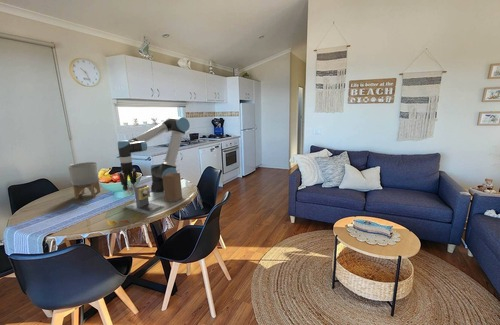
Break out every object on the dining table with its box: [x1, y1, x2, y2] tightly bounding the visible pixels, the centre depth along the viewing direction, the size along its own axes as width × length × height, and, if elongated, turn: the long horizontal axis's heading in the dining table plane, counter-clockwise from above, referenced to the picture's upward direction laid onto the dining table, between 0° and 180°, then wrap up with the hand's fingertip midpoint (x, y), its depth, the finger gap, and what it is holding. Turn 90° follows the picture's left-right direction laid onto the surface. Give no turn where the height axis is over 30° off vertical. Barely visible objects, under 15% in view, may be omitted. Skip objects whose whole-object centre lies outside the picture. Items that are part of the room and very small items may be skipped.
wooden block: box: [162, 172, 183, 202], centre depth 185 cm, size 10×10×20 cm
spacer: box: [138, 185, 151, 200], centre depth 169 cm, size 2×8×8 cm, turn 150°
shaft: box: [122, 185, 149, 195], centre depth 174 cm, size 24×5×5 cm, turn 60°
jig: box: [125, 183, 165, 215], centre depth 171 cm, size 24×14×16 cm, turn 60°
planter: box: [67, 161, 101, 200], centre depth 197 cm, size 19×19×26 cm
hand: (130, 192), depth 178 cm, fingers closed on shaft, 3 cm apart
